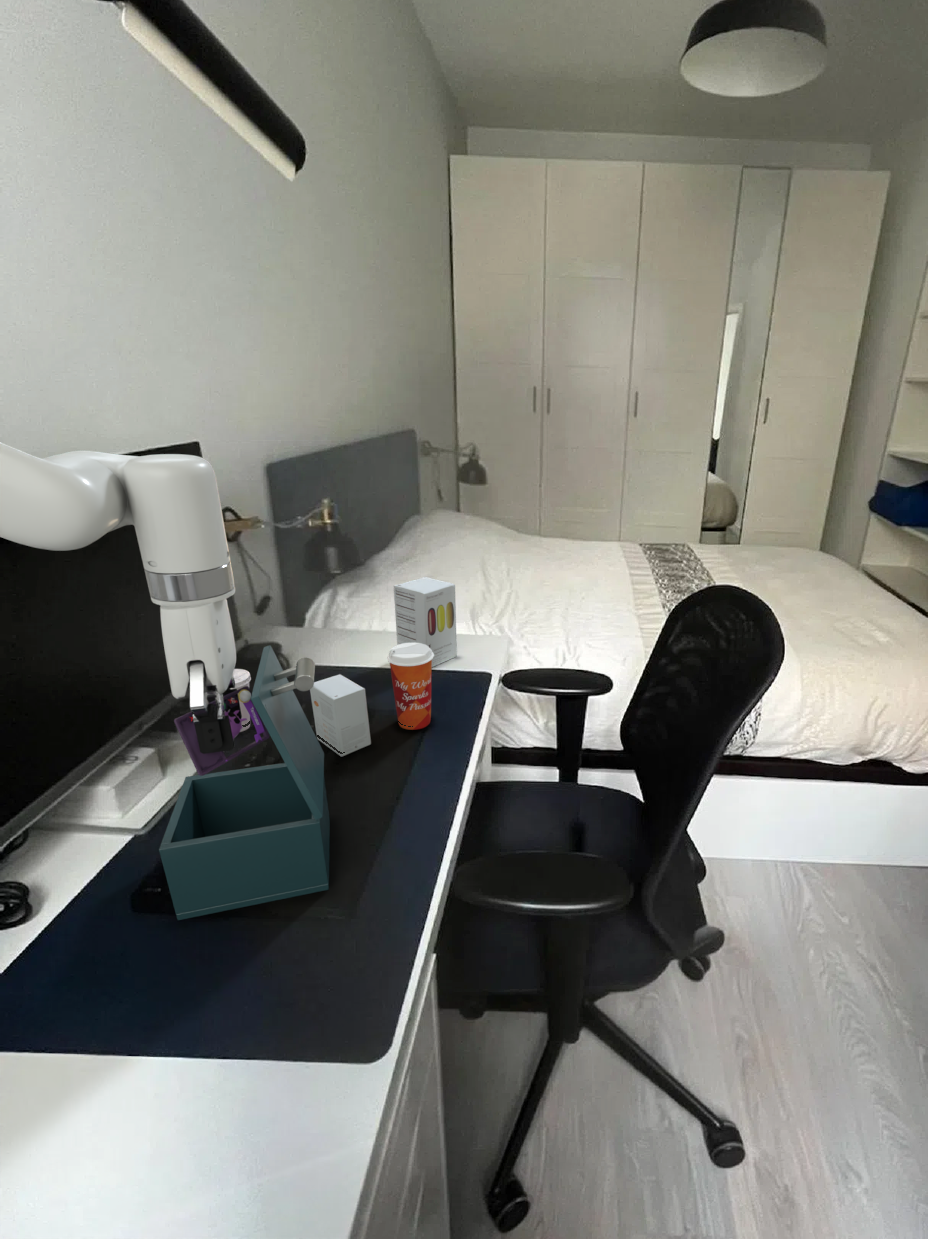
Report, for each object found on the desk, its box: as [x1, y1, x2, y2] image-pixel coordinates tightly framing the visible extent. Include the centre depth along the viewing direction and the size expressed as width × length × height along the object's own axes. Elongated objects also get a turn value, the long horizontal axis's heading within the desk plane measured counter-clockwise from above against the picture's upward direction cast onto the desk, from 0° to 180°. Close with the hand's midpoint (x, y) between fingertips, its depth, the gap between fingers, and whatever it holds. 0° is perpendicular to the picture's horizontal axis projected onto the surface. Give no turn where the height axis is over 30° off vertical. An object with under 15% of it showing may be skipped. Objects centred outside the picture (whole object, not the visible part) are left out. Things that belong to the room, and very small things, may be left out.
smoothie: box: [230, 668, 252, 733], centre depth 105 cm, size 6×6×14 cm
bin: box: [158, 762, 331, 921], centre depth 76 cm, size 16×14×10 cm
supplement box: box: [393, 576, 458, 668], centre depth 135 cm, size 10×9×17 cm
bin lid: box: [251, 644, 325, 820], centre depth 74 cm, size 17×14×5 cm
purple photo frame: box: [173, 686, 270, 776], centre depth 71 cm, size 7×5×9 cm
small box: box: [309, 673, 372, 757], centre depth 103 cm, size 8×6×10 cm
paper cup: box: [386, 643, 434, 731], centre depth 109 cm, size 8×8×14 cm
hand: (222, 734), depth 71 cm, fingers closed on purple photo frame, 5 cm apart
